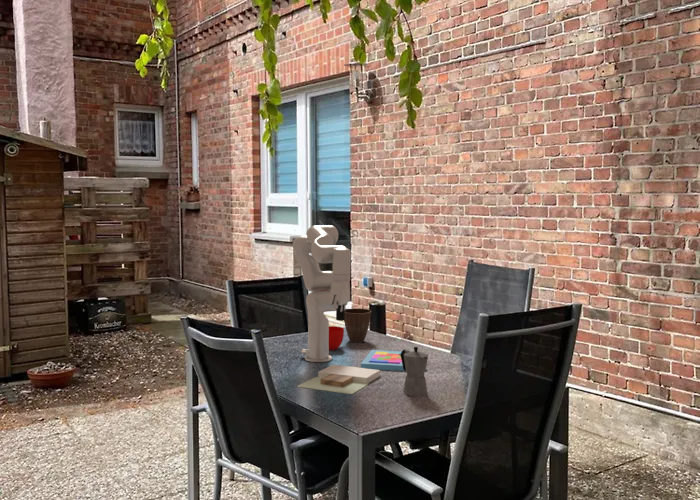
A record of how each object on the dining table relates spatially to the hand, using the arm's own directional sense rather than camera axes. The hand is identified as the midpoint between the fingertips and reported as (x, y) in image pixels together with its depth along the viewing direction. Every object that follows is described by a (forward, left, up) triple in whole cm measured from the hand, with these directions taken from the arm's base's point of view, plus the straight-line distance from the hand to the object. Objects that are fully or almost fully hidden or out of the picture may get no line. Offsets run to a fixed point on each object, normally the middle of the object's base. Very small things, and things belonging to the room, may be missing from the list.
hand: (340, 320), depth 296 cm
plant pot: (-21, +64, -23) cm, 71 cm away
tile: (+6, -15, -23) cm, 28 cm away
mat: (+6, -18, -23) cm, 30 cm away
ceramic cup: (-25, +44, -23) cm, 55 cm away
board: (+6, -3, -23) cm, 24 cm away
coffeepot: (+38, -13, -23) cm, 46 cm away
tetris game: (+15, +28, -24) cm, 40 cm away
